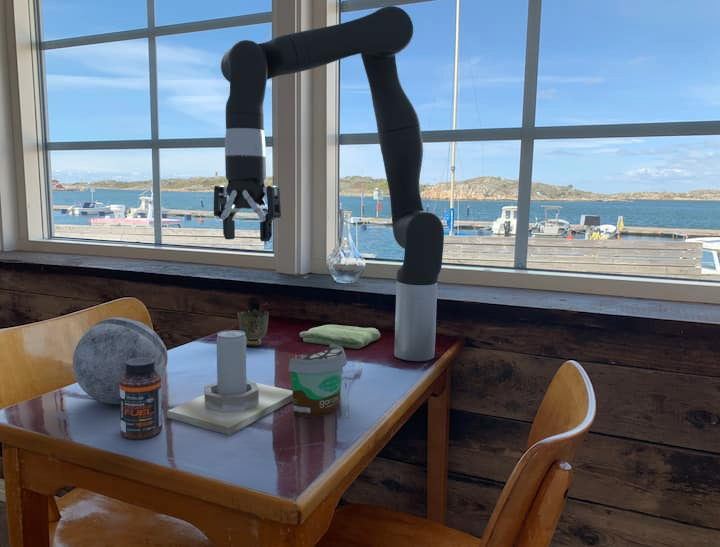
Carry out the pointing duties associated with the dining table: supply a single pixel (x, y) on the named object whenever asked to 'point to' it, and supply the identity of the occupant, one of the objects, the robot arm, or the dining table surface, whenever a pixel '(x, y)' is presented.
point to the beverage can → (231, 363)
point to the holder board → (233, 418)
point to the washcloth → (341, 336)
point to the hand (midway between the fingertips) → (247, 240)
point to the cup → (253, 326)
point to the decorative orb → (114, 355)
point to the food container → (317, 382)
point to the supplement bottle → (140, 399)
